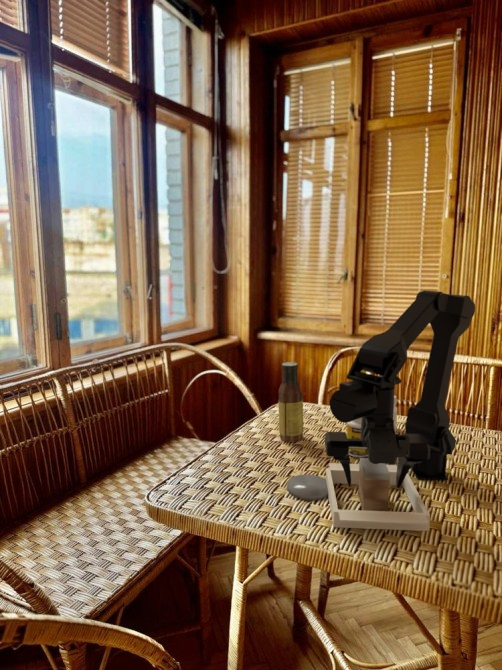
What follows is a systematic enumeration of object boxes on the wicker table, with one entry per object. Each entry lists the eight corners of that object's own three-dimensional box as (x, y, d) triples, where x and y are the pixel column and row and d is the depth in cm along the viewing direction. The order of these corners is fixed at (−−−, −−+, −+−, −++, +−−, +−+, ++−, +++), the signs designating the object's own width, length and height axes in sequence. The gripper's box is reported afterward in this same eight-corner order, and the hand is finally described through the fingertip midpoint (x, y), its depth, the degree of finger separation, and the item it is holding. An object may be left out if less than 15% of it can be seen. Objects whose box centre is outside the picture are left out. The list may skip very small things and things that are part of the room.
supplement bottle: (347, 458, 111) (349, 417, 109) (344, 448, 117) (345, 408, 115) (371, 458, 111) (373, 417, 109) (367, 448, 117) (369, 409, 115)
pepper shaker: (395, 433, 126) (397, 399, 124) (380, 431, 127) (381, 397, 125) (396, 427, 130) (398, 394, 128) (380, 426, 131) (382, 393, 129)
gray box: (380, 495, 95) (382, 458, 94) (387, 513, 89) (390, 474, 87) (358, 495, 95) (359, 457, 94) (363, 513, 89) (365, 473, 88)
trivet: (329, 478, 102) (329, 475, 102) (333, 501, 93) (333, 497, 93) (286, 477, 102) (287, 473, 102) (287, 499, 94) (287, 495, 94)
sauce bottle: (307, 436, 124) (309, 362, 120) (296, 445, 119) (297, 368, 115) (285, 431, 127) (286, 359, 124) (273, 439, 122) (274, 364, 118)
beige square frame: (402, 478, 102) (403, 465, 101) (433, 539, 81) (434, 523, 80) (324, 475, 103) (325, 462, 103) (334, 535, 82) (335, 519, 82)
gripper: (331, 424, 81) (328, 507, 84) (442, 427, 80) (436, 511, 83) (325, 402, 92) (323, 477, 95) (424, 405, 91) (418, 480, 94)
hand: (373, 486), depth 91 cm, fingers open, 9 cm apart
